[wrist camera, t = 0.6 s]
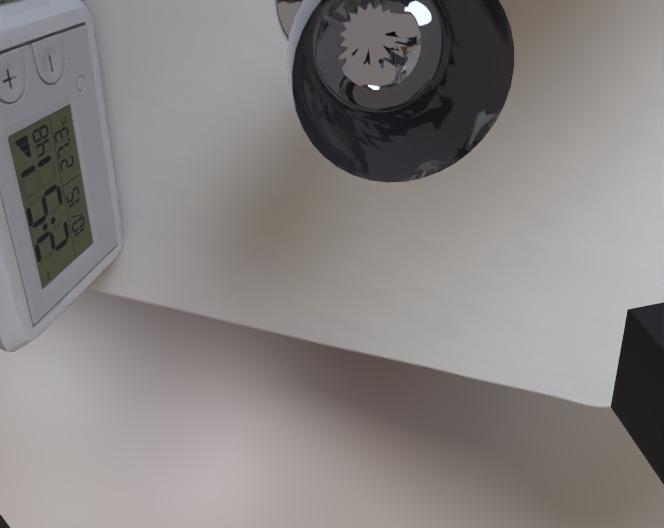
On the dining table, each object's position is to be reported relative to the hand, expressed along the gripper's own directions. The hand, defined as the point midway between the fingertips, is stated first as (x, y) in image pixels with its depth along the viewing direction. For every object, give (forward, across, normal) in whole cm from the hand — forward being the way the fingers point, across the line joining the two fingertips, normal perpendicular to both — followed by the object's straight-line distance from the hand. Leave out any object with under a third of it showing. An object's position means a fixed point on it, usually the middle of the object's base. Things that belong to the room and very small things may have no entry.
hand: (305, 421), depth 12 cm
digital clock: (+28, -12, -3) cm, 30 cm away
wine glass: (+28, +5, +2) cm, 28 cm away
